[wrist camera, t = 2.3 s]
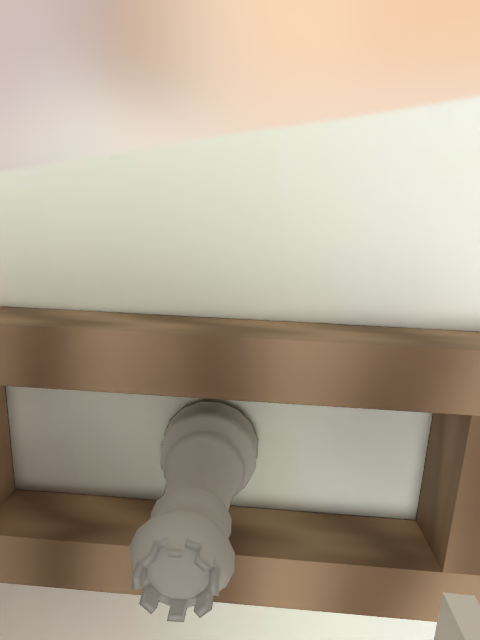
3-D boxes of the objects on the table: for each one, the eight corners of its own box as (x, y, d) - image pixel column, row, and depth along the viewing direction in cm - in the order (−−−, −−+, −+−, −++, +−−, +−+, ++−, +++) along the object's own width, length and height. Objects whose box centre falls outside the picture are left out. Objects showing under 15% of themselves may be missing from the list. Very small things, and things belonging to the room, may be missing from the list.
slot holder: (-18, 528, 21) (-64, 576, 18) (-45, 304, 18) (-105, 318, 15) (450, 567, 20) (482, 625, 17) (494, 332, 17) (541, 353, 14)
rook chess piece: (175, 386, 19) (109, 500, 11) (268, 409, 18) (270, 539, 11) (158, 469, 20) (87, 628, 12) (246, 490, 20) (234, 664, 12)
